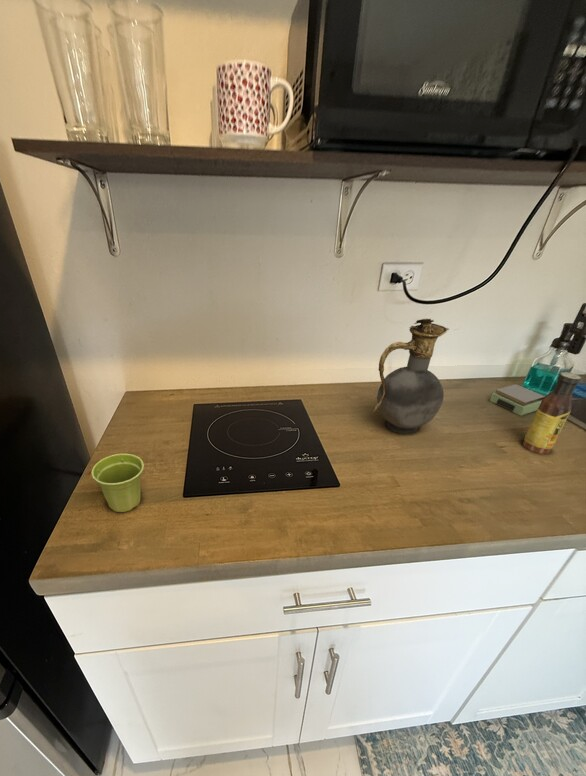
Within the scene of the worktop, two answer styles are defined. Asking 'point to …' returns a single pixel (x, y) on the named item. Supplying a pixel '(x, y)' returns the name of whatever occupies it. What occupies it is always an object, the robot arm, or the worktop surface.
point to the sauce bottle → (551, 415)
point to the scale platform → (519, 394)
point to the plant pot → (120, 480)
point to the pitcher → (411, 382)
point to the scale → (514, 404)
